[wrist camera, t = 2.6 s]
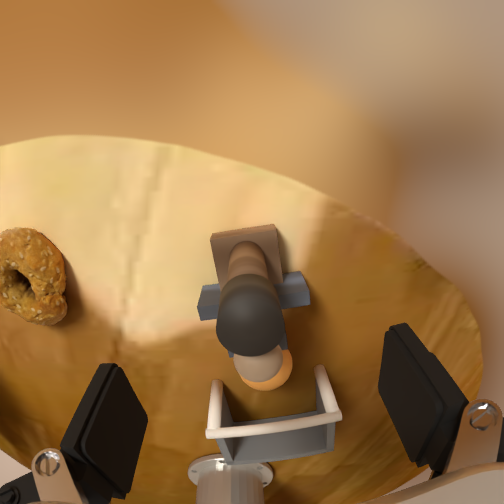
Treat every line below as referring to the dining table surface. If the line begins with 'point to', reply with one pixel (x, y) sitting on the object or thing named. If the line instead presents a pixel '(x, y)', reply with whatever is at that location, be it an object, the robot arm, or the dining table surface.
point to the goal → (274, 428)
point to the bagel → (32, 277)
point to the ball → (277, 379)
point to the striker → (251, 299)
